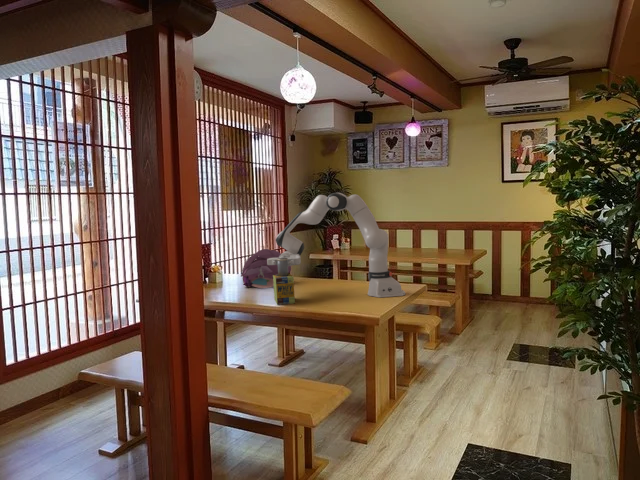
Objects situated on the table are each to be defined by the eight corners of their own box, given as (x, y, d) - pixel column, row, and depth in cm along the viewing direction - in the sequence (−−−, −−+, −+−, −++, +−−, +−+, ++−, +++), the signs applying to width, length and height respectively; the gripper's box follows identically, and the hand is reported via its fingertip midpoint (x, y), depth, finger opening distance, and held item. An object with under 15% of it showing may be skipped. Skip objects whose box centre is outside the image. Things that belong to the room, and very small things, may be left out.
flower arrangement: (254, 298, 332) (253, 258, 324) (232, 288, 348) (231, 249, 339) (291, 284, 357) (292, 247, 349) (270, 275, 372) (270, 239, 364)
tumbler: (289, 274, 294) (288, 257, 293) (287, 276, 287) (286, 259, 286) (278, 274, 294) (277, 258, 293) (276, 276, 288) (275, 259, 287)
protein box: (277, 305, 284) (275, 278, 282) (274, 299, 299) (272, 274, 297) (295, 303, 286) (293, 276, 284) (291, 298, 301) (290, 273, 299)
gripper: (268, 255, 304) (264, 258, 291) (301, 253, 303) (299, 256, 289) (269, 265, 305) (265, 268, 291) (302, 264, 303) (299, 267, 289)
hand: (282, 262), depth 290 cm, fingers open, 8 cm apart
